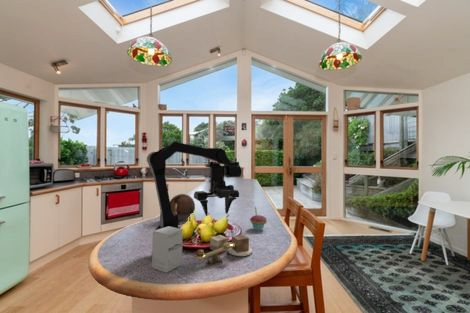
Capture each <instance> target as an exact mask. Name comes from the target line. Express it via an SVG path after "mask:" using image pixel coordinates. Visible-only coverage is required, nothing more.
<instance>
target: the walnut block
mask: <svg viewBox="0 0 470 313" xmlns="http://www.w3.org/2000/svg"><path fill="white" fill-rule="evenodd" d="M231 242H232V243H235V247H233V248H232V249H233V250H234V251H236V252H237V253H240V252H245V251H249V247H250V238H249V236H246V235H245V234H243V233H242V234H237V235H231Z"/></svg>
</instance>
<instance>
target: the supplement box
mask: <svg viewBox="0 0 470 313" xmlns="http://www.w3.org/2000/svg"><path fill="white" fill-rule="evenodd" d="M154 230H155V229H154ZM154 230H152V237H151V238H152V239H151V240H152V244H151V247H152V248H151V250H152V251H151V268H152V269H155V270H156V271H157V270H158V271H160V272H163V273H168V272H170V271H172V270H175V269H176V268H178V267H181V266H182V265H183V232H184V231H183V228H179V227H178V228H174V227H170V226H168V227H165V228H161V229H158V230H155V231H154Z"/></svg>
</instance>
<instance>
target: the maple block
mask: <svg viewBox="0 0 470 313" xmlns="http://www.w3.org/2000/svg"><path fill="white" fill-rule="evenodd" d="M226 242H229V241H228V237H227V236H224V235H221V234H218V235H215V236H211V237H210V242H209V243H210V246H209V249H210V251H211V252H212V251H214V250H217V249H220V248H222V247H224V246H223V244H224V243H226ZM224 252H228V249H227V250H225V251H222V252H219V253H218V254H220V253H224Z"/></svg>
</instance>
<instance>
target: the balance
mask: <svg viewBox="0 0 470 313" xmlns="http://www.w3.org/2000/svg"><path fill="white" fill-rule="evenodd" d="M223 246H224V247H222V248H220V249H217V250H214V251H212V250H211V251H209V252H206V253H205V251H204V250H205V249H197V250H196V253H194V255H193V258H194V259H196V260H200V261H201V260H204V259H206V258H207V263H208V264H209V265H210V266H213V265H218V264H222V263H223V259H222V258H221V257H220V256H219V254H220V253H223V252H222V251H224V252H226V251H225V250H227V249H230V248H233V247H235V243H232V241H231V242H230V241H228V242H226V243H224V244H223ZM227 251H228V250H227ZM219 252H220V253H219ZM208 257H210V258H208Z"/></svg>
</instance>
